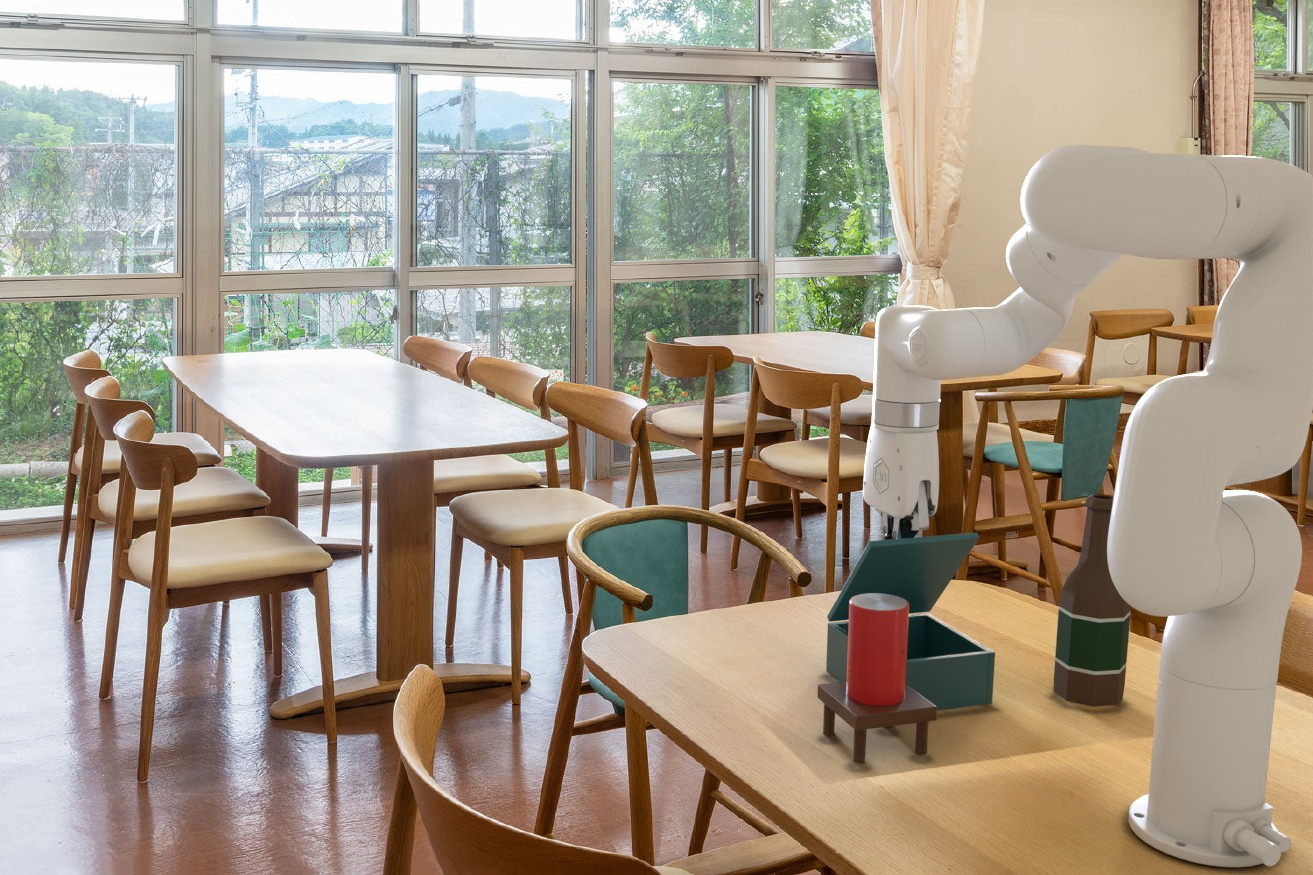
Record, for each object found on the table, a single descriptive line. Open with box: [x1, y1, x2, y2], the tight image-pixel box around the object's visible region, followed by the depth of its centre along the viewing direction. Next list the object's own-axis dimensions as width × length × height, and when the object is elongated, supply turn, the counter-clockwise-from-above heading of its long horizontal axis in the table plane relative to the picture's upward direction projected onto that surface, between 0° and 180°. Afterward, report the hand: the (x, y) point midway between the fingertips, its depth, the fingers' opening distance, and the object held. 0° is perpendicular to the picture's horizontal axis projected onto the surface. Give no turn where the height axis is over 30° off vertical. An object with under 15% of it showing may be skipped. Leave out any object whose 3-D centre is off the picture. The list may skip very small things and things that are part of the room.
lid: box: [826, 532, 980, 623], centre depth 147 cm, size 15×14×1 cm
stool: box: [816, 681, 938, 765], centre depth 131 cm, size 9×9×6 cm
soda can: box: [846, 593, 910, 706], centre depth 130 cm, size 6×6×10 cm
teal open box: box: [825, 612, 996, 712], centre depth 147 cm, size 15×14×7 cm
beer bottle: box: [1053, 493, 1132, 707], centre depth 144 cm, size 8×8×24 cm
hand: (898, 569), depth 148 cm, fingers closed
